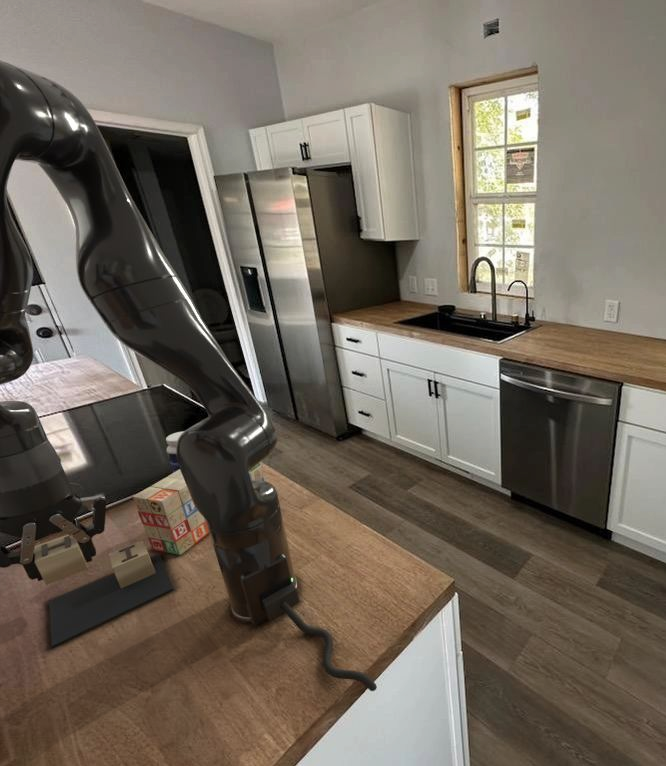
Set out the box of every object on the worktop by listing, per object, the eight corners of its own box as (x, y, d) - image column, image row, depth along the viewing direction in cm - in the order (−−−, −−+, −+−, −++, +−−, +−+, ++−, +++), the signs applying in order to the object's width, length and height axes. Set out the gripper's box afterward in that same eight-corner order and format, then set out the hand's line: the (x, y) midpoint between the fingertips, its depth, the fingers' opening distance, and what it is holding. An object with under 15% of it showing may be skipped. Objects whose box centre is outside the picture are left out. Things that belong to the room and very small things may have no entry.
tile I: (155, 573, 71) (147, 552, 69) (121, 588, 68) (112, 567, 66) (150, 559, 74) (143, 539, 72) (117, 573, 71) (108, 553, 69)
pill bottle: (168, 475, 99) (157, 438, 95) (193, 463, 104) (183, 428, 100) (184, 480, 97) (173, 443, 93) (209, 468, 102) (199, 433, 98)
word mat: (174, 589, 69) (173, 588, 68) (52, 648, 59) (51, 646, 59) (160, 555, 75) (160, 553, 75) (49, 602, 66) (48, 600, 66)
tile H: (88, 568, 64) (77, 545, 62) (46, 585, 61) (34, 561, 59) (85, 553, 67) (75, 530, 65) (45, 568, 64) (33, 545, 62)
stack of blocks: (243, 484, 96) (231, 438, 91) (266, 488, 95) (256, 441, 90) (151, 550, 76) (131, 495, 72) (179, 556, 75) (160, 501, 71)
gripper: (-65, 510, 50) (-6, 611, 57) (95, 465, 60) (130, 556, 67) (-57, 484, 55) (-4, 580, 61) (91, 447, 65) (124, 533, 71)
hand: (66, 567), depth 64 cm, fingers closed on tile H, 4 cm apart
